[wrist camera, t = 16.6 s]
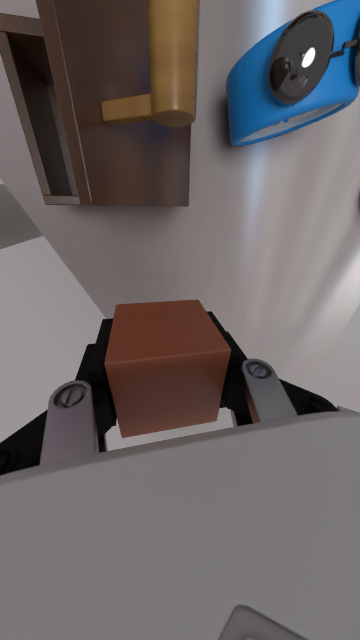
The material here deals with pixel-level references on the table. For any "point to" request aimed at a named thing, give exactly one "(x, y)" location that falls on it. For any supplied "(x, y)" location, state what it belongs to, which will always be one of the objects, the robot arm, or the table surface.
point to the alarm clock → (296, 74)
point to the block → (165, 366)
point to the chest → (38, 106)
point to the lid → (125, 95)
